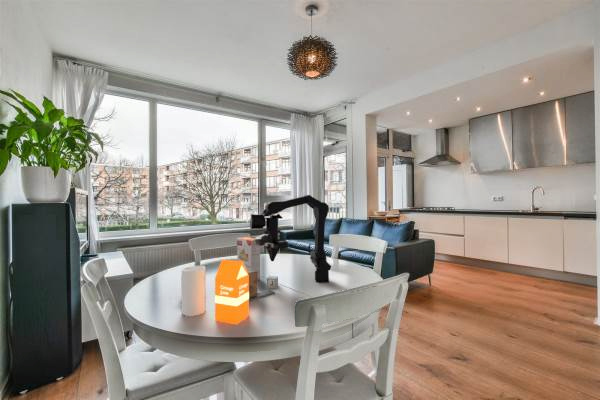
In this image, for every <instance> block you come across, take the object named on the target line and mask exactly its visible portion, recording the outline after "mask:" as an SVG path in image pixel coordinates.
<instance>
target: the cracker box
mask: <svg viewBox="0 0 600 400" xmlns="http://www.w3.org/2000/svg"><path fill="white" fill-rule="evenodd" d="M236 253H237V255H236V256H237V257H236V261H243V264H244V266H245V268H246V271H247V272H248V271H254V270H256V271H258V280H261V246H260V245H257V244H256V241H255V238H254V237H249V236H248V237H247V236H243V237H242V236H241V237H240V236H239V237H237V238H236Z"/></svg>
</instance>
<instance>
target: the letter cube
mask: <svg viewBox="0 0 600 400" xmlns="http://www.w3.org/2000/svg"><path fill="white" fill-rule="evenodd" d="M278 285H279V276H278V275H268V276H267V277H266V288H267V289H277V287H278Z"/></svg>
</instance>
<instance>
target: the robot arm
mask: <svg viewBox="0 0 600 400" xmlns="http://www.w3.org/2000/svg"><path fill="white" fill-rule="evenodd" d="M305 204H306V205H308V207H310V208H311V209H313V215H314V218H315V227H314V228H315V229H314V231H315V234H314V248H313V250H310V252H309V253H310V257H309V259H310V262H311V263H312V264H313V265H314V267H315V268H316V269H315V271H314V280H315V283H326V284H327V283H330V277H329V276H330V275H329V272H330V271H331V269H332V265H331V264H330V263H329V262H328V260H327V254H326V251H325V233H326V232H325V228H326V227H325V226H326V219H327V217H328V214H329V209H330V208H329V204H328V203H326V202H324V201H323V202H322V201H321V200H319V199H317V198H315V197H313V196H312V195H310V194H307V195H306V194H305V195H303V196H299V197H295V198H290V199H287V200H282V201H281V200H280V201H269V202H266V204H265V206H264V210H263V211H262V213H261V214H254V213H253V214H250V220H249V228H250V230H261V229H264V227H265V230H264V231H263V234H260V235H258V236H256V237H254V239H255V241H256V244H257V245H260V247H261V246H263V248H264V249H265V250H267V253H268V255H269V256H268V257H269V259H270V261H271V262H274V261H275V259H276V257H277V255H278V253H279V251H280V249H288V248H289V242H288V241H287V240H286V241H285V240H281V239H280V238H279V233H280V232H281V230H279V219H280V220H282V219H283V216H282V215H281V214H280V213H281V212H283V211H285V210H287V209H290V208H294V207H298V206H301V205H305Z"/></svg>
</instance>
